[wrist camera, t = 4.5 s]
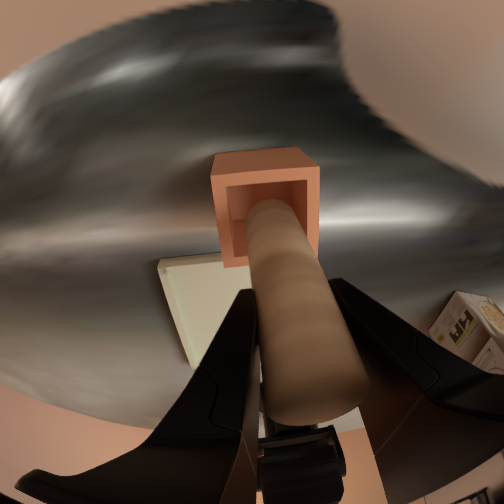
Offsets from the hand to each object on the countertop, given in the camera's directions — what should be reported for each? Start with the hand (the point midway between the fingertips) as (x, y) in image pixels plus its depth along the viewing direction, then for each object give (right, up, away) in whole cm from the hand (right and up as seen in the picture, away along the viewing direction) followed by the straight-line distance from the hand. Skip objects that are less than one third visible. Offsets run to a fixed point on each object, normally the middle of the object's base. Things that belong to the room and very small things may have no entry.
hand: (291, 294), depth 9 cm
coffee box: (+24, -6, +18) cm, 31 cm away
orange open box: (-1, +5, +9) cm, 11 cm away
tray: (-3, -4, +15) cm, 15 cm away
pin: (0, +3, +4) cm, 5 cm away
